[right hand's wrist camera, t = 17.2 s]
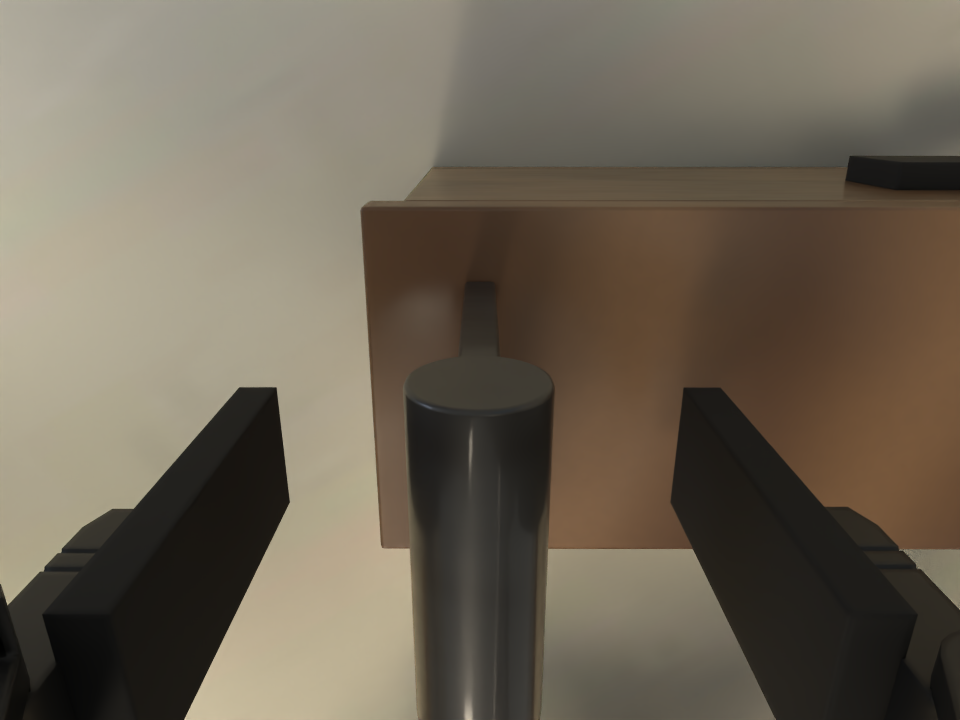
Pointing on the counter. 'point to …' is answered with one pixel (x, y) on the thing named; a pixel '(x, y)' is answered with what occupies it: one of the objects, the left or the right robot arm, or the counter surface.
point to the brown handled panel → (637, 390)
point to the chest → (656, 185)
